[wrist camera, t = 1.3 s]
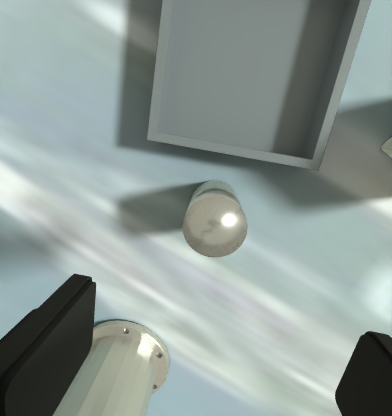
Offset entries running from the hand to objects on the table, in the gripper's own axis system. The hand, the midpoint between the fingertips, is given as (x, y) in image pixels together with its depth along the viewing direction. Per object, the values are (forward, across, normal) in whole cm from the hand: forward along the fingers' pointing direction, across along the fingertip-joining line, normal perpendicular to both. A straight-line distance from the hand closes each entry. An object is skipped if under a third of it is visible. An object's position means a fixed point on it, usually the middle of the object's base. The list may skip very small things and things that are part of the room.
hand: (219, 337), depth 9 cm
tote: (+20, 0, -13) cm, 24 cm away
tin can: (+20, 0, 0) cm, 20 cm away
